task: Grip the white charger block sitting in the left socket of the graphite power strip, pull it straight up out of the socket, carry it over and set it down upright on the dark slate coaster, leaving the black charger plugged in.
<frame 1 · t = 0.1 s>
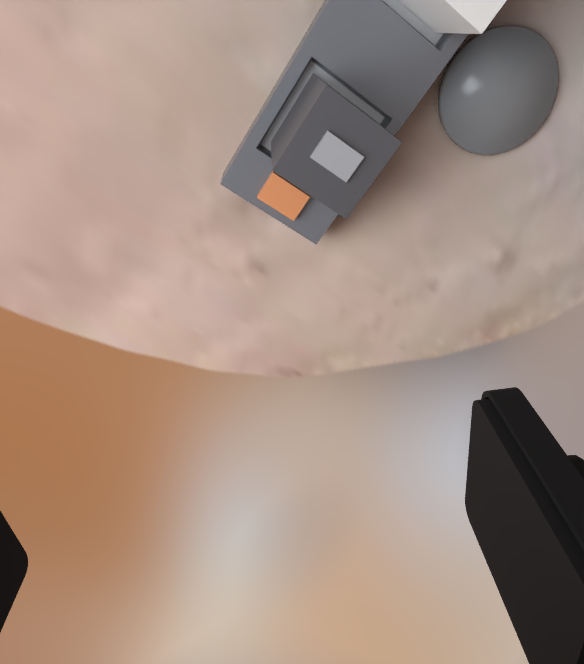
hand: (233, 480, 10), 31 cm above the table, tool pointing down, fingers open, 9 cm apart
black charger: (322, 130, 34), point 2 cm above the table, touching power strip
slate coaster: (495, 93, 35), on the table
power strip: (367, 51, 34), on the table
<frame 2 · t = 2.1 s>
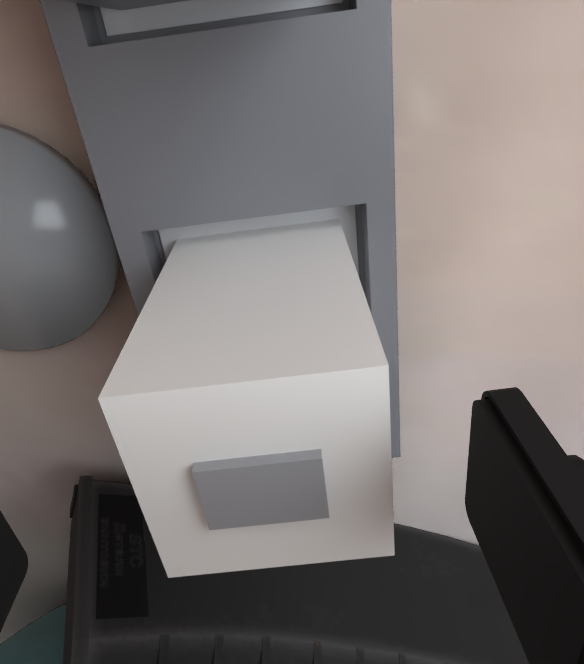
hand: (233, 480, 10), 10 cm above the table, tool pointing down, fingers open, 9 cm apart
white charger: (269, 301, 17), point 2 cm above the table, touching power strip
magazine: (386, 537, 26), on the table
slate coaster: (1, 243, 18), on the table
power strip: (244, 115, 16), on the table
teal bowl: (119, 634, 30), on the table
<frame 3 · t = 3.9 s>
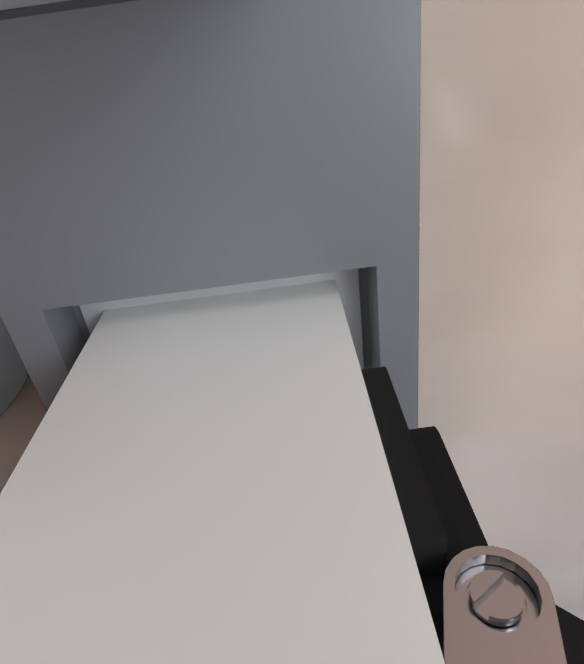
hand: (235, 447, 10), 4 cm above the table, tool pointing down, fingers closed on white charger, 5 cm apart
white charger: (239, 387, 12), point 2 cm above the table, touching gripper, power strip
power strip: (199, 132, 11), on the table
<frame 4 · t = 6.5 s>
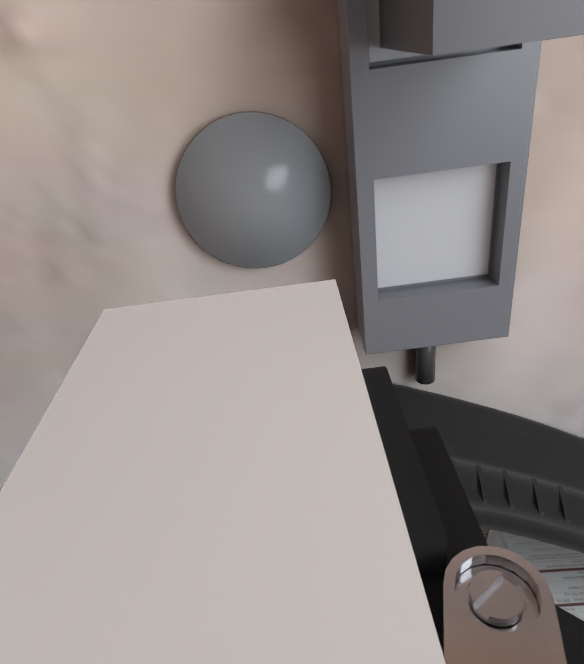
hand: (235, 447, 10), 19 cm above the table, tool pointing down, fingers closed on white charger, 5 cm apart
white charger: (239, 387, 12), point 17 cm above the table, touching gripper
magazine: (471, 418, 36), on the table
slate coaster: (254, 193, 27), on the table
power strip: (425, 108, 25), on the table
supplement box: (525, 540, 43), on the table
when the fingers open (4 cm above the table, at t = 9.5 s): white charger drops 1 cm, resting on slate coaster.
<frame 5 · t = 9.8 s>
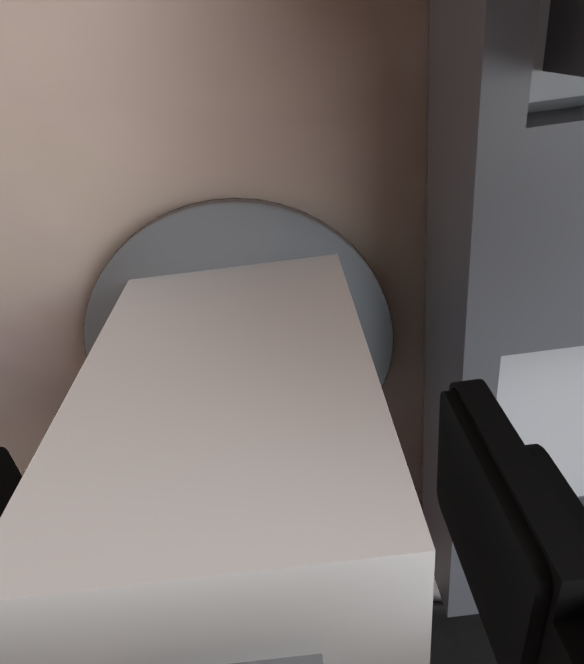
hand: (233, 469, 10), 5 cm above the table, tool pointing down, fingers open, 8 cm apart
white charger: (249, 354, 13), point 1 cm above the table, touching slate coaster
magazine: (582, 633, 23), on the table
slate coaster: (242, 343, 14), on the table
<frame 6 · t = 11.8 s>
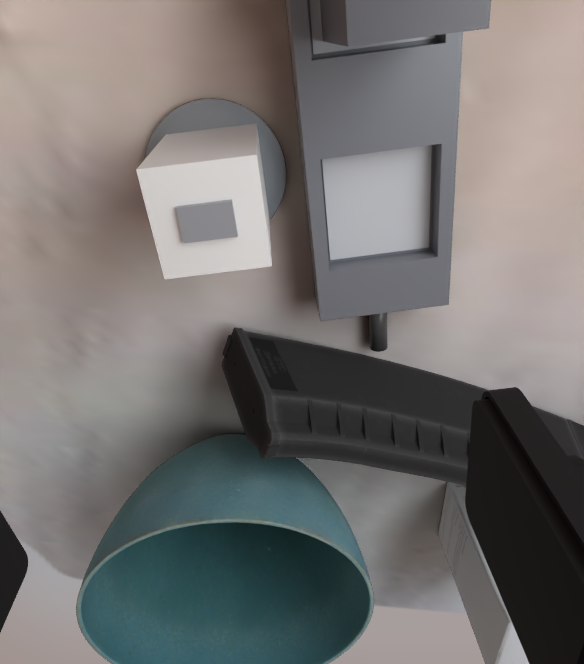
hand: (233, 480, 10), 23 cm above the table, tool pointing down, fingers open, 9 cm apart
white charger: (219, 175, 29), point 1 cm above the table, touching slate coaster
magazine: (421, 385, 39), on the table
slate coaster: (216, 173, 30), on the table
power strip: (368, 96, 28), on the table
teal bowl: (236, 469, 42), on the table
supplement box: (480, 503, 46), on the table
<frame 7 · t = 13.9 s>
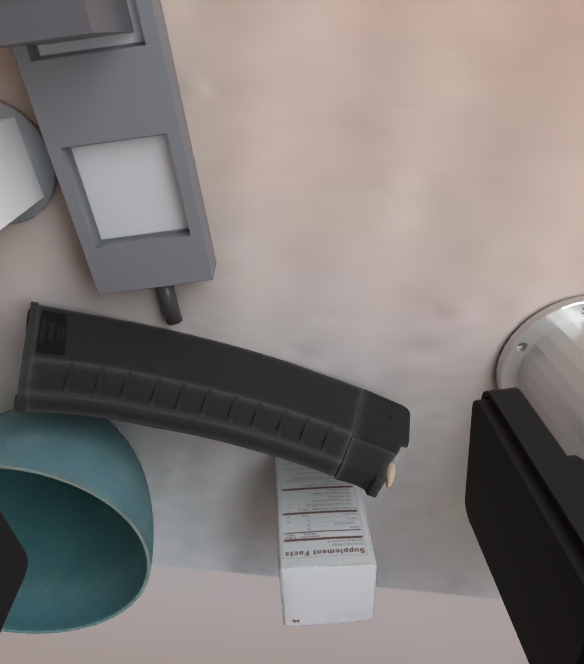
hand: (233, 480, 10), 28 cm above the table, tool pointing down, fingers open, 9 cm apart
magazine: (229, 358, 42), on the table
power strip: (114, 93, 32), on the table
teal bowl: (73, 438, 46), on the table
supplement box: (313, 472, 50), on the table
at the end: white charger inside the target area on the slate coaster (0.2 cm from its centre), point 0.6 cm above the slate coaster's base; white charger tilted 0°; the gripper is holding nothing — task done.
